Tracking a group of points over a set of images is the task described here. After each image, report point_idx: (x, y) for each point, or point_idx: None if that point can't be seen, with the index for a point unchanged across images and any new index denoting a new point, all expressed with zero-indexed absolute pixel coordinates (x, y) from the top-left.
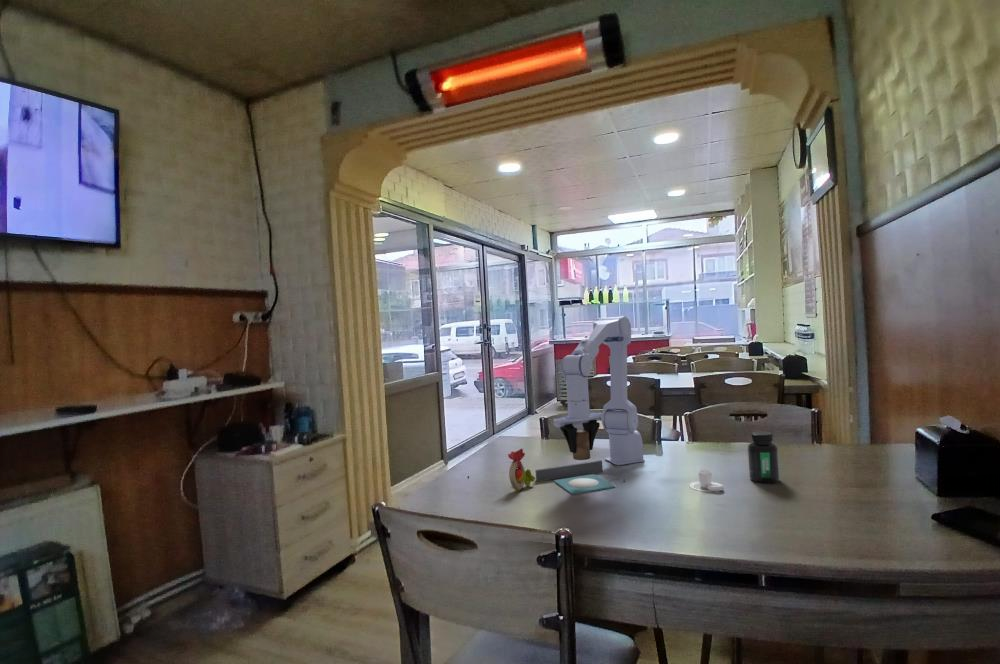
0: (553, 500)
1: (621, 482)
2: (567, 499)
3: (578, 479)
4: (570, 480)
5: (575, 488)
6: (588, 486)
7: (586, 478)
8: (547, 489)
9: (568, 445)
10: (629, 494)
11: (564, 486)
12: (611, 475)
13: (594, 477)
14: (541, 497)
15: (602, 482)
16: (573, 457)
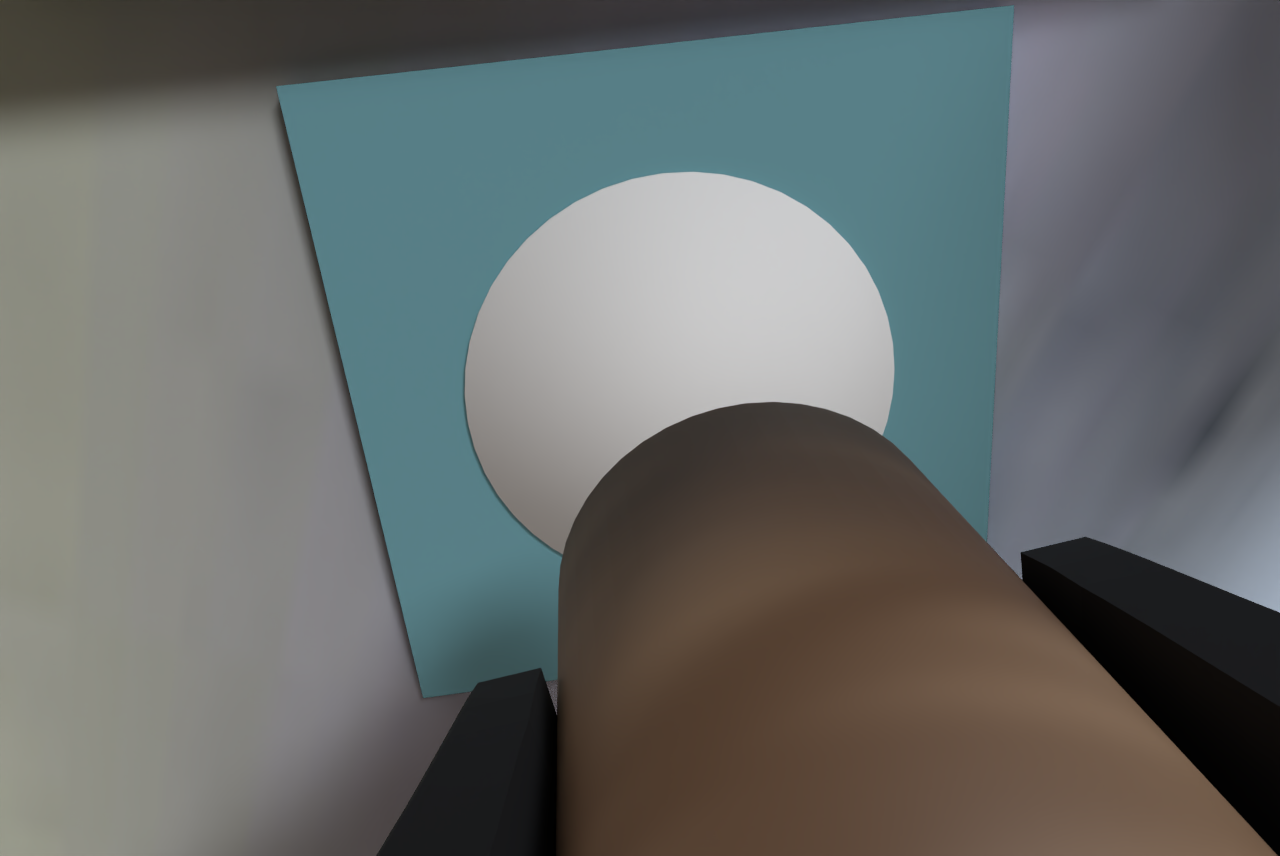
0: (181, 780)
1: (1150, 461)
2: (344, 790)
3: (669, 219)
4: (541, 203)
5: (510, 563)
6: None
7: (800, 218)
8: (138, 407)
9: (411, 804)
10: None
11: (386, 445)
12: (1228, 115)
13: (934, 199)
14: (39, 663)
15: (924, 452)
16: (559, 603)
